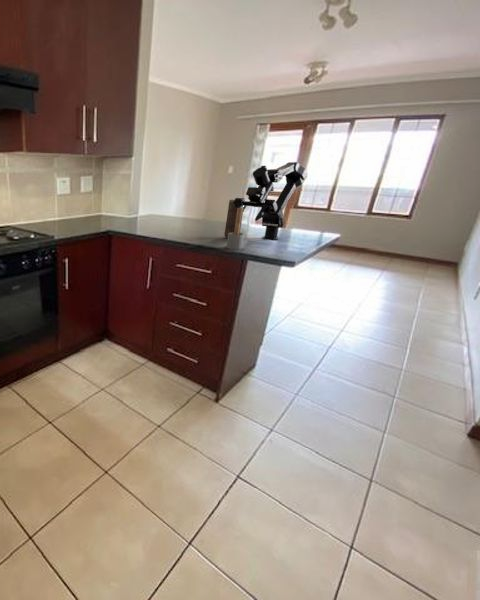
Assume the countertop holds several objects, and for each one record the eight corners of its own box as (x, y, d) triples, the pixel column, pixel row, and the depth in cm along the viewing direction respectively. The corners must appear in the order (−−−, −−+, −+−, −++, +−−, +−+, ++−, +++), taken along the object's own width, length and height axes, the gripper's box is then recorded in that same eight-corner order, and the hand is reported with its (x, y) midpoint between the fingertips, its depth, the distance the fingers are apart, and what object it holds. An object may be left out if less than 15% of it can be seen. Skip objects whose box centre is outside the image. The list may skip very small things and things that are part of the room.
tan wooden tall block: (239, 240, 172) (245, 199, 164) (224, 239, 174) (229, 199, 166) (238, 237, 179) (243, 198, 171) (223, 236, 181) (228, 198, 173)
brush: (231, 246, 157) (236, 207, 150) (239, 247, 155) (244, 207, 149) (230, 248, 154) (235, 208, 148) (238, 248, 153) (243, 208, 146)
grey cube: (227, 246, 159) (229, 232, 157) (243, 247, 156) (245, 232, 154) (225, 249, 154) (227, 234, 151) (241, 251, 151) (243, 235, 148)
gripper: (238, 180, 157) (221, 206, 156) (279, 180, 143) (261, 209, 141) (244, 196, 164) (229, 221, 163) (284, 197, 150) (267, 225, 149)
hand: (245, 219), depth 154 cm, fingers open, 9 cm apart
